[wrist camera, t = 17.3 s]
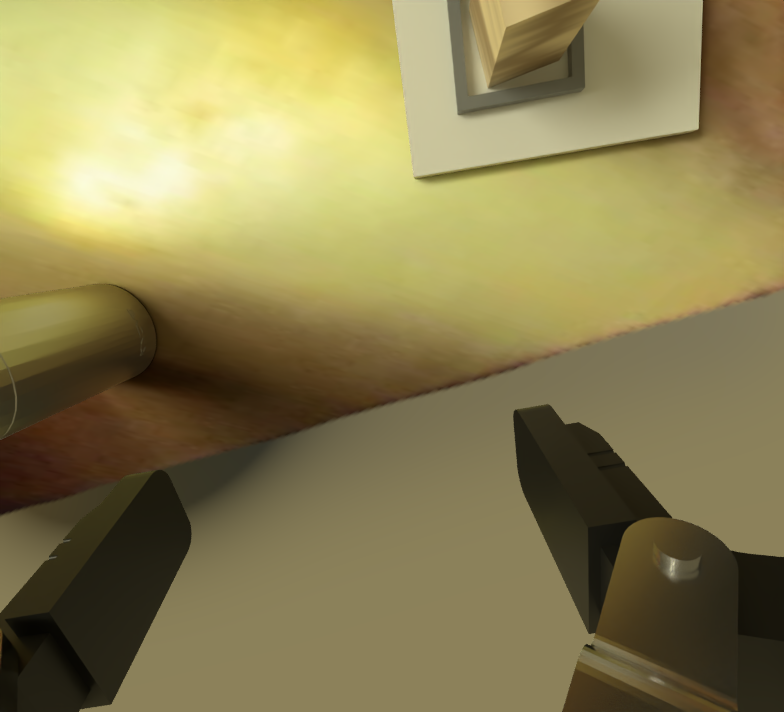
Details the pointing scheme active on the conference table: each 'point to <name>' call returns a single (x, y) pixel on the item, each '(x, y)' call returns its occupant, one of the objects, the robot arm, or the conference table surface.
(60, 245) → the conference table surface
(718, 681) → the robot arm
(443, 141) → the board
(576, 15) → the maple block
